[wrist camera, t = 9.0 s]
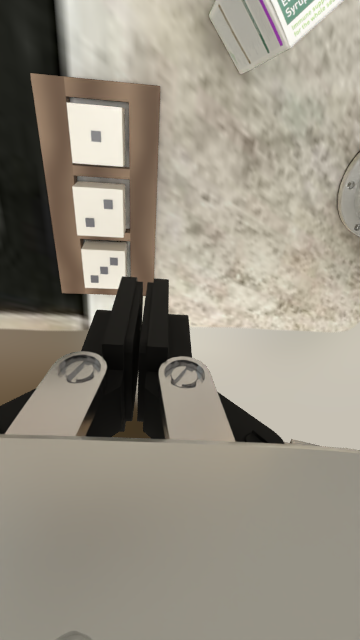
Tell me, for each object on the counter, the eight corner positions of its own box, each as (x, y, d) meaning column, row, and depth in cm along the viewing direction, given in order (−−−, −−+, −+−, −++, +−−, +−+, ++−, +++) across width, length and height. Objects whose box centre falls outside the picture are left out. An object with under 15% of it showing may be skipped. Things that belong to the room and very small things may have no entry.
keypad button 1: (124, 107, 32) (121, 107, 29) (125, 162, 34) (122, 166, 32) (73, 103, 31) (65, 102, 29) (78, 159, 34) (72, 163, 31)
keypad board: (160, 87, 31) (160, 86, 30) (153, 291, 44) (153, 296, 43) (35, 74, 30) (30, 73, 29) (64, 287, 43) (62, 292, 42)
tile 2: (125, 184, 35) (122, 190, 32) (125, 229, 37) (123, 238, 35) (78, 181, 34) (71, 186, 31) (82, 226, 37) (76, 235, 34)
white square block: (126, 242, 39) (124, 251, 37) (127, 278, 42) (125, 290, 39) (85, 240, 39) (80, 249, 36) (89, 277, 42) (84, 288, 39)
